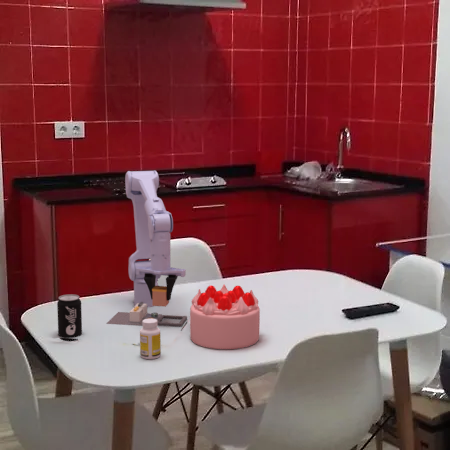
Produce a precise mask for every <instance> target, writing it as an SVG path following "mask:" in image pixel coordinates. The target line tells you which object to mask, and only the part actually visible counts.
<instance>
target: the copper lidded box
mask: <svg viewBox="0 0 450 450" xmlns="http://www.w3.org/2000/svg"><path fill="white" fill-rule="evenodd" d="M152 291H153V300H152V307H168V305H169V303H170V300H167V285H158V286H155V287H154V288H153V289H152Z"/></svg>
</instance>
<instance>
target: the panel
mask: <svg viewBox="0 0 450 450" xmlns="http://www.w3.org/2000/svg"><path fill="white" fill-rule="evenodd" d="M161 315H163V314H161V313H158V312H151V313H147V314H146V315H145V316H144V317H143V318H142V320H141V321H140V322H134V321H130V311H129V312H126V311H125V312H124V311H117V313H116V314H115V315H114V316H112V317H111V318H110V319H109V321H107V322H106V324H107V325H120V326H122V325H124V326H139V327H143V326H142V321H143V320H144V319H156V320H157V319H158V318H159V317H160V316H161Z"/></svg>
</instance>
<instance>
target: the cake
mask: <svg viewBox="0 0 450 450" xmlns="http://www.w3.org/2000/svg"><path fill="white" fill-rule="evenodd" d="M243 289H244V288H243V287H241V286H240V285H235V286H234V287H233V289H232V290H228V288H227V286H226V285H225V284H223V285H222V286H221V288H220V290H217V289H216V287H215V286H214V285H209V286H207V287H206V289H205V290H204V292H201V289H198V292H197V294H196V295H195V296H194V297H193V298H192V299H191V306H190V309H189V310H190V311H189V313H190V314H189V317H190V318H189V322H190V323H189V325H190V326H189V333H190V334H189V337H190V340H191V341H192V343H194V344H196V345H197V346H199V347H202V348H203V347H204V348H206V349H214V350H237V349H238V348H239V349H245V348H248V347H250V345H251V346H253V345H255V344H257V342H258V341H259V339H260V325H261V324H260V322H261V320H260V319H261V318H260V316H261V315H260V314H261V313H260V311H261V309H260V306H259V300H258V298H257V297H256V296H255V295H254V292H253V290H252V289H251V290H250V291H248V292H245V291H244V290H243ZM244 347H245V348H244Z"/></svg>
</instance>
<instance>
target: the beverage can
mask: <svg viewBox="0 0 450 450" xmlns="http://www.w3.org/2000/svg"><path fill="white" fill-rule="evenodd" d="M56 306H57V307H56V308H57V328H58V329H57V332H58V333H57V335H58V337H59V339H60V340H61V341H64V342H74V341H77V340H79V338H77V337H80V336H82V335H83V327H82V325H83V323H82V321H83V320H82V319H83V318H82V300H81V299H80V296H79V295H78V294H72V293H71V294H63V295H60V296H58V301H57V304H56Z"/></svg>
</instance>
